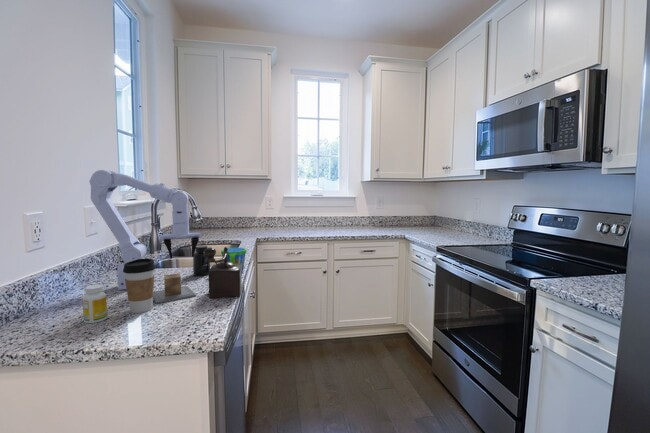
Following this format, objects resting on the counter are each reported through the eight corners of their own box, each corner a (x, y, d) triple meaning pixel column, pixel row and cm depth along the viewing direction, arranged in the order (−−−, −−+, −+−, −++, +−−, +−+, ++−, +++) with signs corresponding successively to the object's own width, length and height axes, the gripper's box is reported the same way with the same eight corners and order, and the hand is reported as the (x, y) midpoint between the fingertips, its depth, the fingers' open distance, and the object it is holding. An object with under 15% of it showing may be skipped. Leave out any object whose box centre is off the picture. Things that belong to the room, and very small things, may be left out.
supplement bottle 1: (80, 324, 86) (77, 290, 85) (89, 317, 91) (87, 284, 90) (102, 322, 87) (100, 288, 86) (110, 315, 92) (108, 283, 91)
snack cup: (226, 268, 147) (226, 246, 146) (249, 267, 147) (249, 246, 146) (217, 277, 131) (216, 253, 130) (243, 277, 132) (242, 253, 131)
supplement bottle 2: (206, 276, 133) (205, 248, 132) (190, 276, 133) (189, 248, 132) (212, 272, 140) (212, 245, 139) (197, 271, 140) (196, 245, 139)
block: (165, 296, 106) (164, 278, 106) (164, 291, 111) (164, 275, 110) (181, 294, 109) (180, 276, 108) (180, 289, 113) (179, 273, 113)
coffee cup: (163, 306, 99) (161, 259, 98) (139, 316, 91) (137, 265, 90) (143, 302, 102) (140, 257, 101) (118, 312, 94) (115, 263, 93)
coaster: (156, 303, 101) (156, 301, 101) (150, 293, 111) (150, 291, 111) (195, 296, 109) (195, 294, 108) (186, 287, 118) (186, 285, 118)
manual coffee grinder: (211, 289, 116) (210, 240, 114) (242, 287, 118) (241, 240, 116) (203, 304, 101) (201, 249, 99) (239, 302, 103) (238, 248, 101)
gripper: (159, 224, 116) (161, 261, 117) (201, 222, 122) (203, 257, 124) (159, 222, 122) (161, 257, 123) (199, 221, 129) (201, 254, 130)
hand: (182, 257), depth 124 cm, fingers open, 7 cm apart
